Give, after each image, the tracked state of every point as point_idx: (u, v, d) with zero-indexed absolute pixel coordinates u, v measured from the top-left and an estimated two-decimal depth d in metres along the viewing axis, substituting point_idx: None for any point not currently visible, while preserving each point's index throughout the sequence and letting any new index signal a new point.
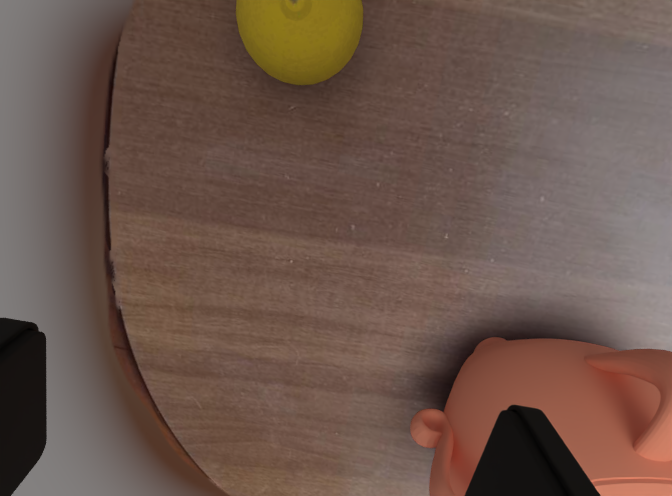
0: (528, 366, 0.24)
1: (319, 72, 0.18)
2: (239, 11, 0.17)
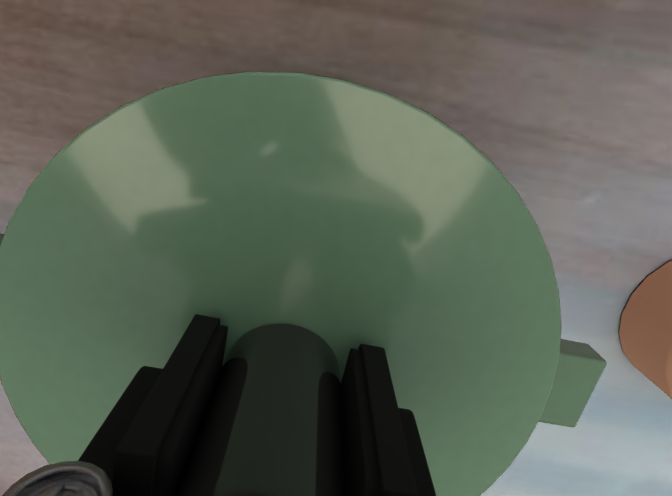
0: None
1: None
2: None
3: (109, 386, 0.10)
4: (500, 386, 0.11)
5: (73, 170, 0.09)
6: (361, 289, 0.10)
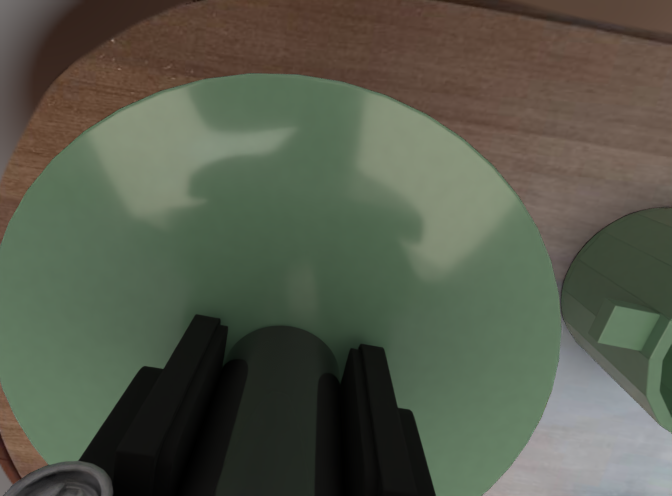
0: None
1: None
2: None
3: (109, 388, 0.10)
4: (499, 388, 0.11)
5: (72, 172, 0.09)
6: (361, 291, 0.10)
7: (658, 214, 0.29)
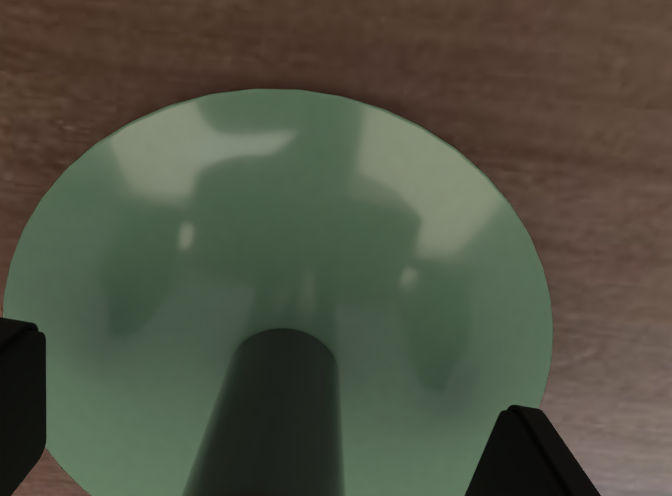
0: None
1: None
2: None
3: (117, 389, 0.11)
4: (494, 389, 0.11)
5: (84, 182, 0.09)
6: (360, 295, 0.10)
7: None
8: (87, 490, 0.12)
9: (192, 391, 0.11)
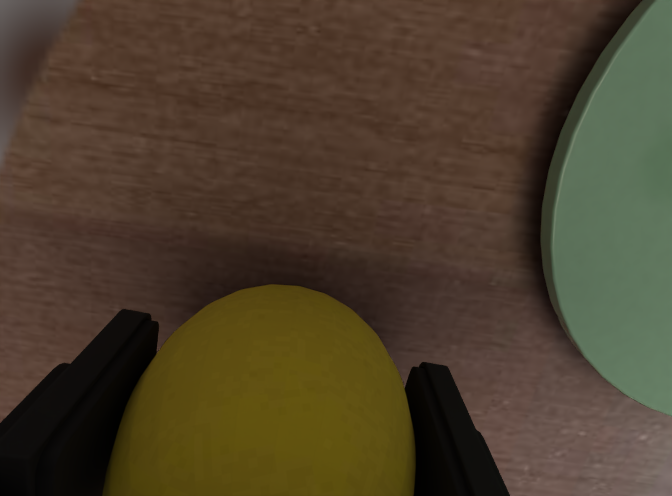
0: None
1: None
2: None
3: (661, 211, 0.10)
4: None
5: None
6: None
7: None
8: (575, 336, 0.11)
9: None
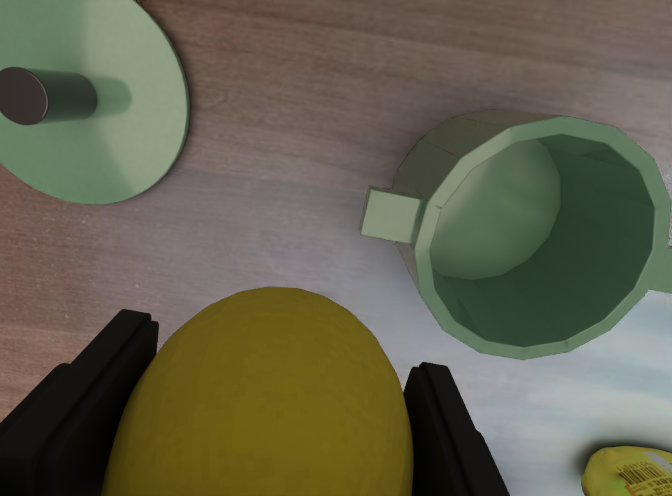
0: None
1: None
2: None
3: None
4: (164, 103, 0.27)
5: None
6: (98, 56, 0.26)
7: (471, 114, 0.27)
8: None
9: None
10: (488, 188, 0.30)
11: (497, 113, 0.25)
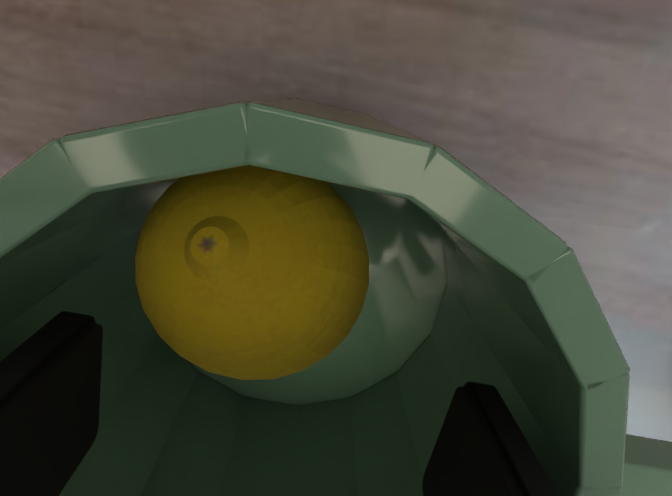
0: None
1: (278, 368, 0.09)
2: (135, 261, 0.09)
3: None
4: None
5: None
6: None
7: None
8: None
9: None
10: None
11: None
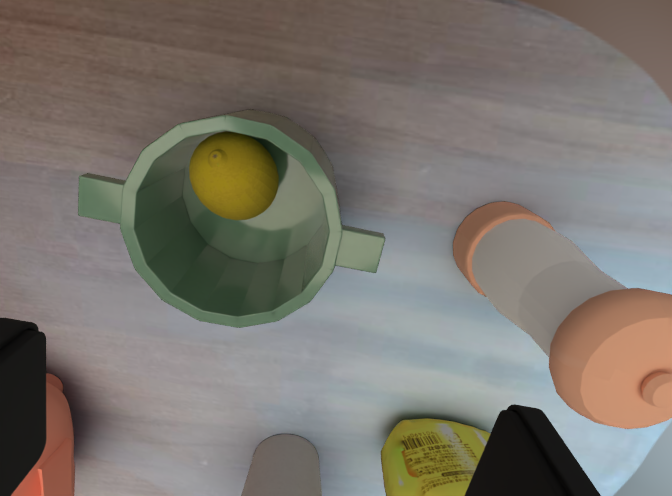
0: None
1: (238, 204, 0.27)
2: (189, 168, 0.27)
3: None
4: None
5: None
6: None
7: None
8: None
9: None
10: None
11: None
